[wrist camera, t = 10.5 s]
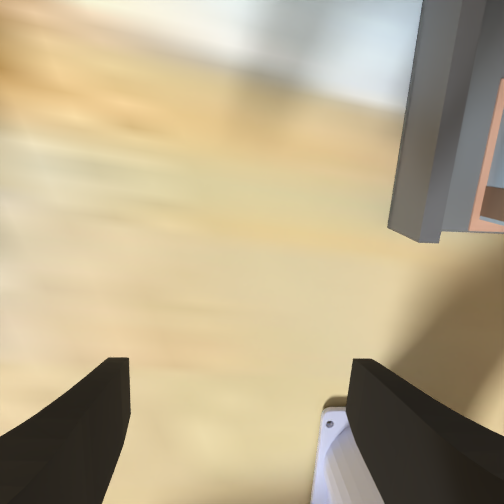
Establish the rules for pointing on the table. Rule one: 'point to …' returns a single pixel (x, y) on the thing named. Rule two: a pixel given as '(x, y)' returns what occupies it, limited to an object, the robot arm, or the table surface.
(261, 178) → the table surface
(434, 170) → the tray
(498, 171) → the blue block
